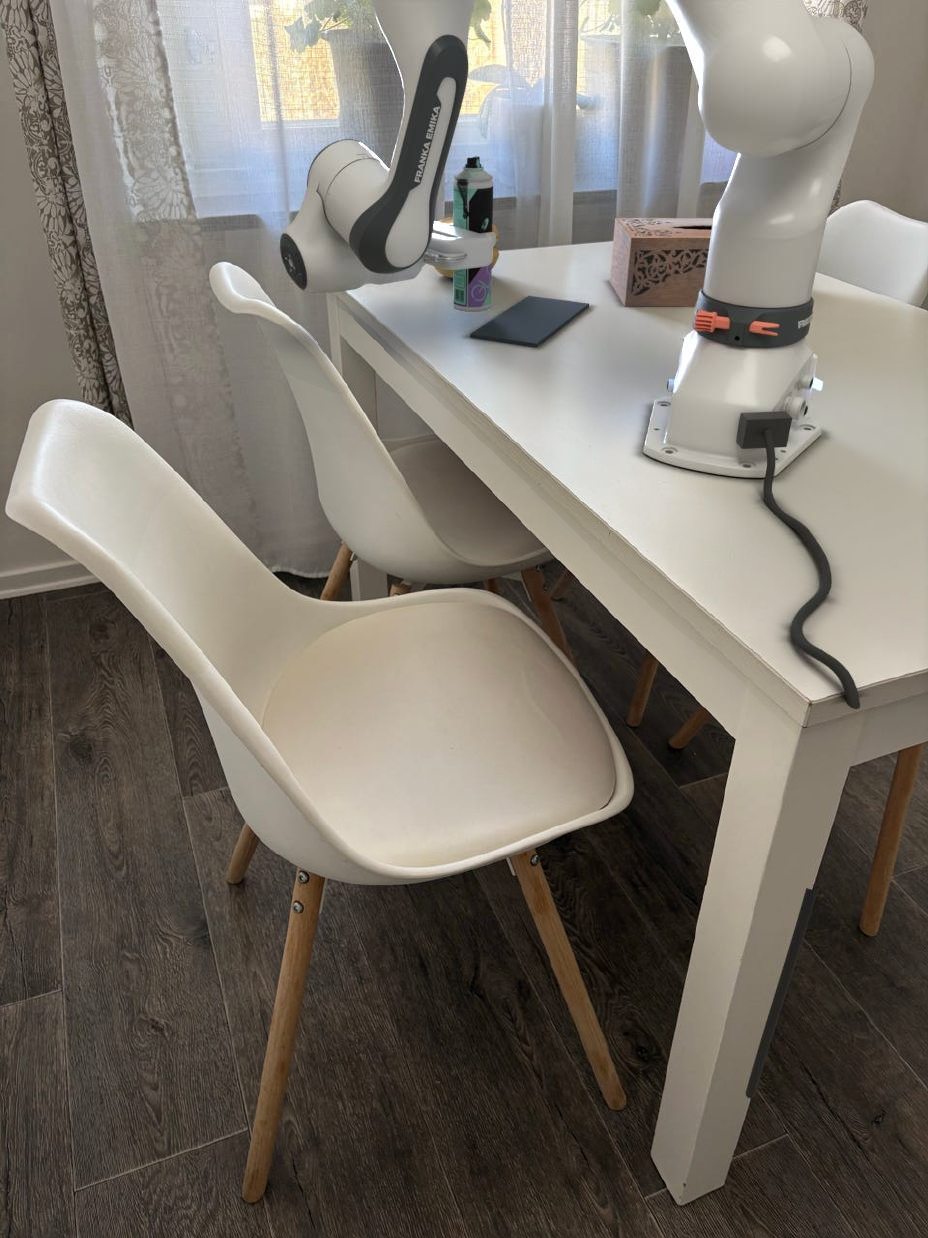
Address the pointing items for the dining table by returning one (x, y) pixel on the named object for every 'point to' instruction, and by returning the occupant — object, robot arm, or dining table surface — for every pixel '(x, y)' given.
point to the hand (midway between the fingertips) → (477, 233)
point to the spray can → (477, 217)
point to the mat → (530, 321)
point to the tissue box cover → (660, 260)
